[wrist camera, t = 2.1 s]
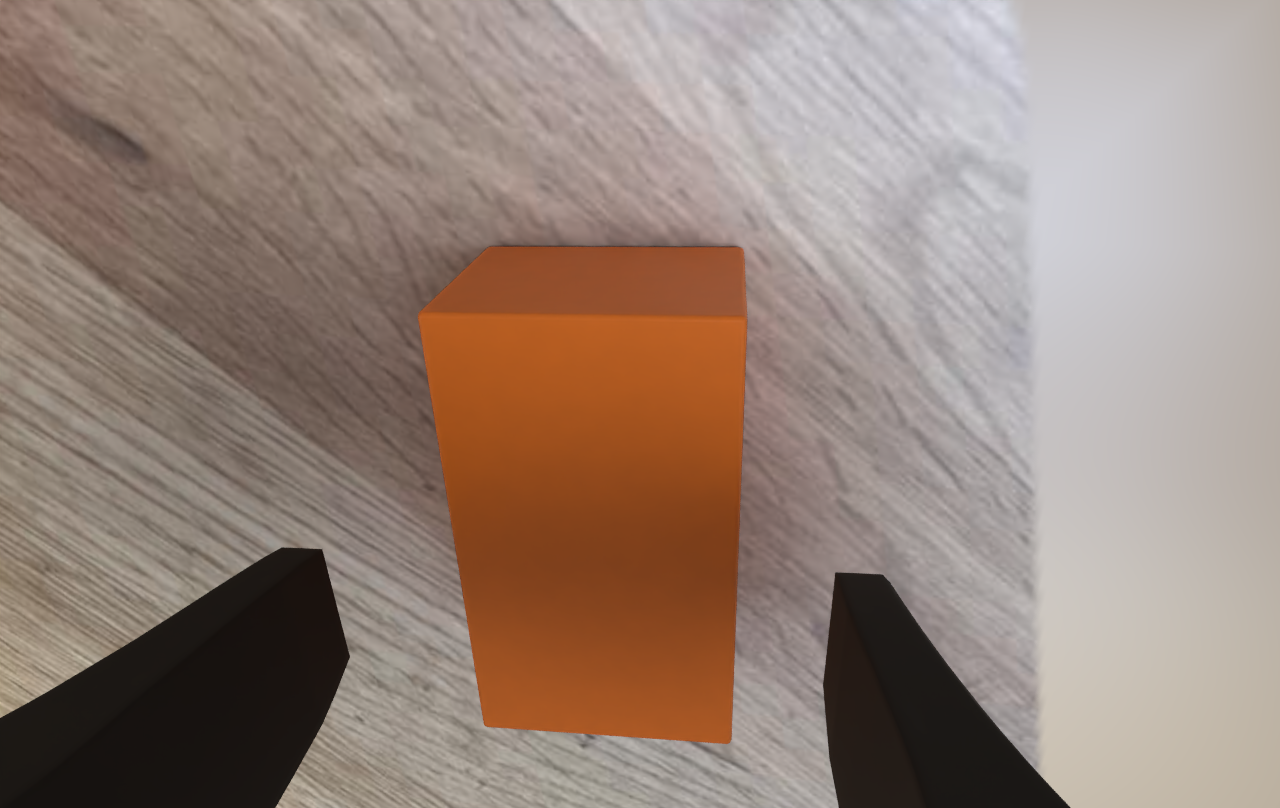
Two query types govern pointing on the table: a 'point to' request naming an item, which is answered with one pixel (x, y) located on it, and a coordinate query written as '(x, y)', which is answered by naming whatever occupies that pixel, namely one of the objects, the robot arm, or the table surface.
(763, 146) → the table surface
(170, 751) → the robot arm
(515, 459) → the orange rectangular block
